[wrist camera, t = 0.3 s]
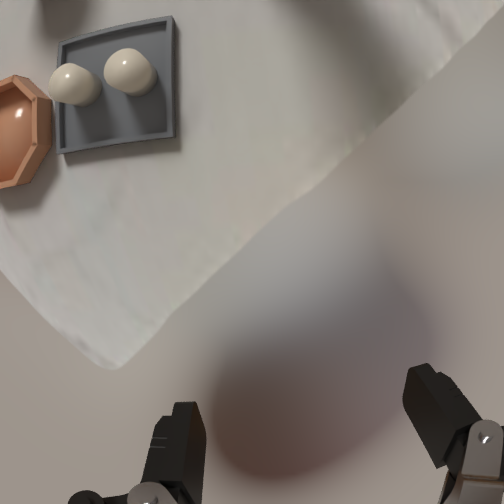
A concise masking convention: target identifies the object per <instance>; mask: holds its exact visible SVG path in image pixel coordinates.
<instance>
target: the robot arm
mask: <svg viewBox="0 0 504 504" xmlns="http://www.w3.org/2000/svg"><path fill="white" fill-rule="evenodd" d="M403 406H404V409H405V411H406V413H407V415H408V416H409V418H410V420H411V422H412V423H413V426H414V427H415V429H416V431H417V433H418V435H419V437H420V438H421V440H422V442H423V444H424V446H425V448H426V449H427V451H428V453H429V455H430V457H431V459H432V461H433V463H434V465H435V467H436V468H437V469H438V468H440V467H442V466H445V465H447V467H448V469H449V470H448V472H447V474H446V478H445V481H444V485H443V488H442V491H441V495H440V498H439V501H438V504H501V501H502V496H503V492H504V426H500V425H499V424H498V423H496V422H494V421H492V420H483V419H482V418H481V417H480V416H479V414H478V413H477V411H476V410H475V409H474V407H473V406H472V405H471V403H470V402H469V401H468V400H467V398H466V397H465V396H464V395H463V393H462V392H461V391H460V389H459V388H457V385H456V384H455V383H454V382H453V380H452V379H451V378H450V377H448V376H447V375H445V374H443V373H442V372H438V373H436V372H435V371H434V369H433V368H432V367H431V366H430V365H429V364H428V363H425V364H422V365H418V366H415V367H411V368H410V369H409V370H408V373H407V378H406V383H405V388H404V393H403ZM205 453H206V431H205V427H204V424H203V421H202V418H201V415H200V412H199V409H198V406H197V403H196V402H176V403H175V404H174V407H173V412H172V416H162V418H161V419H160V420H159V421H158V423H157V424H156V425H155V428H154V432H153V436H152V440H151V443H150V448H149V451H148V456H147V460H146V464H145V468H144V472H143V476H142V480H141V482H140V484H138V485H136V486H135V487H133V488H132V489H131V490H130V492H129V493H128V494H125V495H120V496H114V497H106V498H102V497H101V496H100V495H98V494H97V493H95V492H93V491H89V490H85V491H80V492H77V493H75V494H74V495H73V496H72V497H71V498H70V499H69V501H68V504H201V502H202V489H203V476H204V463H205Z"/></svg>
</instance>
